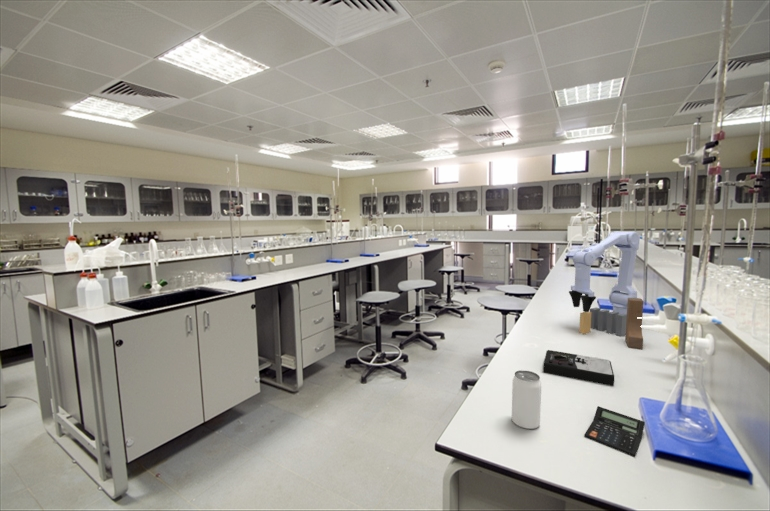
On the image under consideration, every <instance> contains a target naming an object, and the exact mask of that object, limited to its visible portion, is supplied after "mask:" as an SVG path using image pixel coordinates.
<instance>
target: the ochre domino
mask: <svg viewBox="0 0 770 511" xmlns="http://www.w3.org/2000/svg"><path fill="white" fill-rule="evenodd" d="M589 332H590V333H591V312H590V311H589V312H584V311H583V312H580V313H579V333H578V334H581V333H582V335H587V334H590V333H589ZM586 333H587V334H586Z"/></svg>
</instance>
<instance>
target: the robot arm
mask: <svg viewBox="0 0 770 511" xmlns="http://www.w3.org/2000/svg"><path fill="white" fill-rule="evenodd" d="M640 239H641V236H640V235H639V234H638V232H637V231H622V230H621V231H620V230H619V231H617V230H614V231H612V232H610V233H608V236H607V237H606V238H604V239H603V240H602V241H601V242H599V243H598V242H595V243H594V242H593V243H591V244H590V246H588V247H586V248H584V249H583V250H581V251H579V250H578V251H577V252H575V253H574V254H573V256H572V262H573V266H574V268H575V269H574V270H575V271H574V285H570V290H568V293H569V295H570V297H571V301H572V306H573V308H580V306H581V302H582V311H583V312H590V309H591V307H592V305H593V303H594V301H595V300H596V299H597V296H595V291H593V290H591V289H590V288H591V272H592V271H591V270H592V269H591V268H592V267H591V266H592V265H594V263H595V261H596V259H598V258H599V257H601V256H602V255H604V253H605V252H606V250H607V249H609V248H611V247H613V246H614V247H616V248H617V249H619V250H620V251H621V252H622V253H621V259H620V266H619V273H618V278H617V285H615V286H612V288H611V291H610V294H609V295H608V301H609V302H610V303H611V306H612V312H613V311H615V312H619V314H622V313H624V314H627V304H628V298H638V292H637V291H636V290H635V288H634V287H632V285H633V280H634V272H635V266H636V260H637V259H636V258H637V253H638V251H639V247H640V246H639V245H640Z"/></svg>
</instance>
